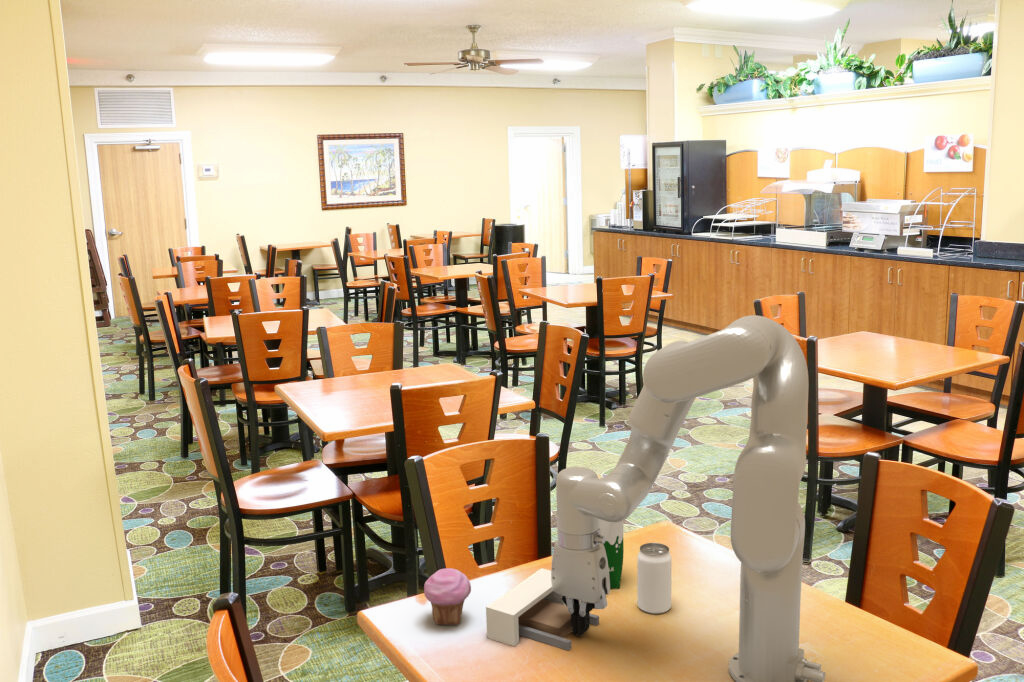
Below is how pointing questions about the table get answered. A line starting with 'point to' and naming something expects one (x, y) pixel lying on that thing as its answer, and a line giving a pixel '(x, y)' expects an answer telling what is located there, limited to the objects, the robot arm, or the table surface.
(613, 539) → the milk carton
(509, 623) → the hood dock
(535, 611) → the walnut tile
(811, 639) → the table surface
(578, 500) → the robot arm
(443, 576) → the cupcake
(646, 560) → the can
